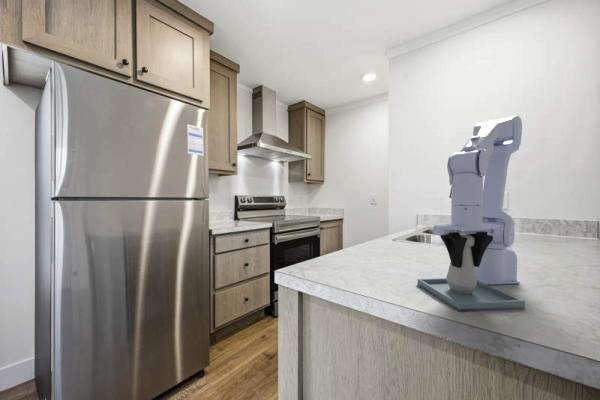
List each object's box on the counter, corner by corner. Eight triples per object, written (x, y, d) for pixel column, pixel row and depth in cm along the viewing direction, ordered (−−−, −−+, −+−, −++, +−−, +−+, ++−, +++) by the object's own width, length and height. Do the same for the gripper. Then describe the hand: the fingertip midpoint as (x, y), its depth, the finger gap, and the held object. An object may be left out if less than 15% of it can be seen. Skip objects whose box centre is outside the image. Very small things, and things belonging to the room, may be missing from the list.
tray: (469, 282, 63) (469, 277, 63) (524, 308, 49) (524, 300, 49) (417, 285, 61) (417, 279, 61) (459, 311, 47) (459, 304, 47)
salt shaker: (480, 298, 52) (483, 238, 52) (450, 294, 54) (452, 236, 53) (470, 288, 58) (472, 233, 57) (442, 284, 60) (445, 231, 59)
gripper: (479, 204, 60) (478, 260, 60) (425, 204, 57) (424, 262, 58) (508, 205, 53) (506, 268, 53) (447, 206, 50) (446, 271, 51)
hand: (465, 266), depth 55 cm, fingers closed on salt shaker, 4 cm apart
